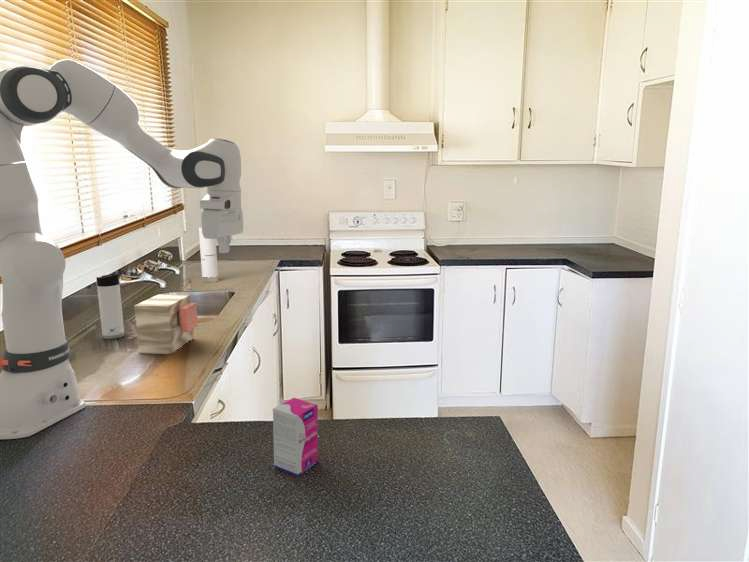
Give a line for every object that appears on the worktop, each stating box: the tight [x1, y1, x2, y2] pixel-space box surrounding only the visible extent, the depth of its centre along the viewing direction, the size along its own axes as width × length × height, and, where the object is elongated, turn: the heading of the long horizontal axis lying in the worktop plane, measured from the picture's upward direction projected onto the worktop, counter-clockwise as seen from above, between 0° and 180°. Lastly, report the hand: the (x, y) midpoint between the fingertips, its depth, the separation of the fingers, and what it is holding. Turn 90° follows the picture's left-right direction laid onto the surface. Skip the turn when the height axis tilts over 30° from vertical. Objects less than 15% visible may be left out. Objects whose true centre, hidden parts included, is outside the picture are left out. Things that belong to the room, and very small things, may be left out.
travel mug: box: [96, 273, 125, 340], centre depth 171 cm, size 6×7×20 cm
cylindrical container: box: [198, 226, 219, 278], centre depth 251 cm, size 7×7×25 cm
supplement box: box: [272, 397, 319, 477], centre depth 97 cm, size 6×6×12 cm
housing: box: [133, 293, 194, 355], centre depth 162 cm, size 14×10×14 cm
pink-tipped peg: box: [177, 302, 199, 332], centre depth 162 cm, size 7×14×7 cm, turn 84°
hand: (224, 252), depth 150 cm, fingers closed
